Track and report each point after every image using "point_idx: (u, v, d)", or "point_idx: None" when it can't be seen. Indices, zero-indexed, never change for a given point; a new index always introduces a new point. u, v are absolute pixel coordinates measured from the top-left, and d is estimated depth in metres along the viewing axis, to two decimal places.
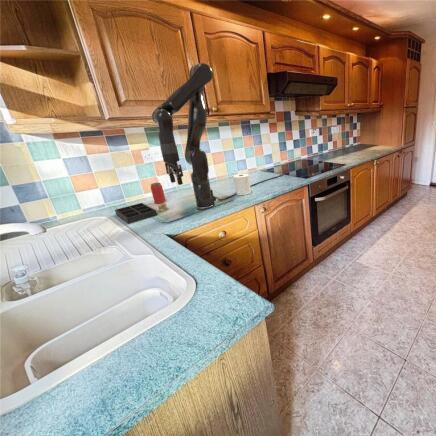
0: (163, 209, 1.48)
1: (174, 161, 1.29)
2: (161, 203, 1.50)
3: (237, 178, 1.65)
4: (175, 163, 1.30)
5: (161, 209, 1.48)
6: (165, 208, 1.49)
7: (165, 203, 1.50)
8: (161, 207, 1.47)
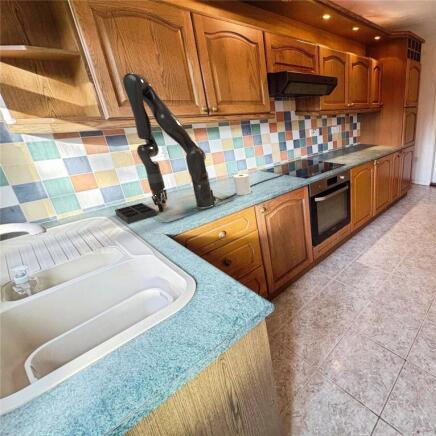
0: (163, 209, 1.48)
1: (154, 190, 1.42)
2: None
3: (237, 178, 1.65)
4: (155, 192, 1.42)
5: None
6: (165, 208, 1.49)
7: (165, 203, 1.50)
8: None
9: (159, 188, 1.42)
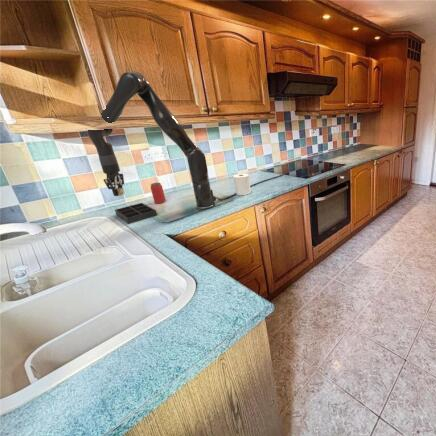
0: None
1: (107, 173, 1.34)
2: (117, 188, 1.43)
3: (237, 178, 1.65)
4: (108, 175, 1.34)
5: None
6: (121, 193, 1.41)
7: (121, 188, 1.42)
8: None
9: (112, 171, 1.35)
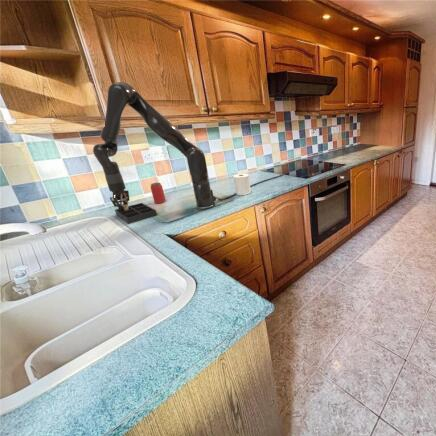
0: (124, 210, 1.44)
1: (113, 191, 1.38)
2: None
3: (237, 178, 1.65)
4: (114, 193, 1.38)
5: None
6: (126, 209, 1.45)
7: (126, 204, 1.46)
8: None
9: (118, 189, 1.38)
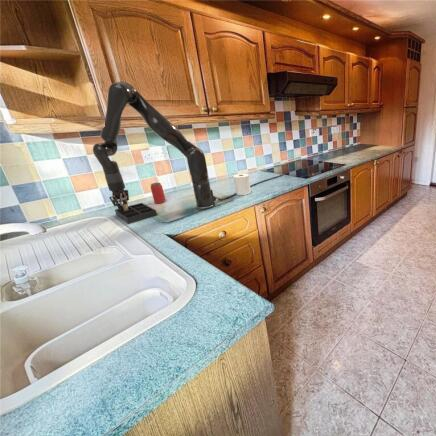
0: (124, 210, 1.44)
1: (112, 190, 1.38)
2: (122, 204, 1.46)
3: (237, 178, 1.65)
4: (113, 192, 1.38)
5: None
6: (126, 209, 1.45)
7: (126, 204, 1.46)
8: None
9: (118, 188, 1.38)
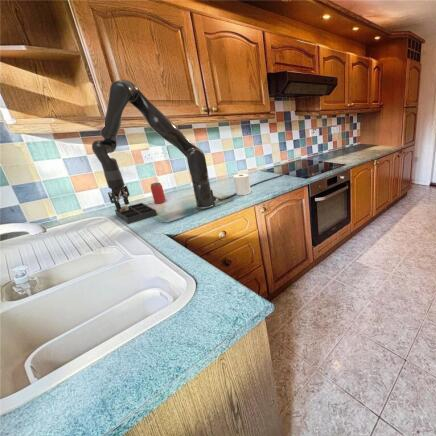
0: None
1: (112, 187, 1.37)
2: (123, 206, 1.47)
3: (237, 178, 1.65)
4: (113, 189, 1.38)
5: None
6: None
7: (127, 206, 1.46)
8: (122, 210, 1.44)
9: (117, 186, 1.38)
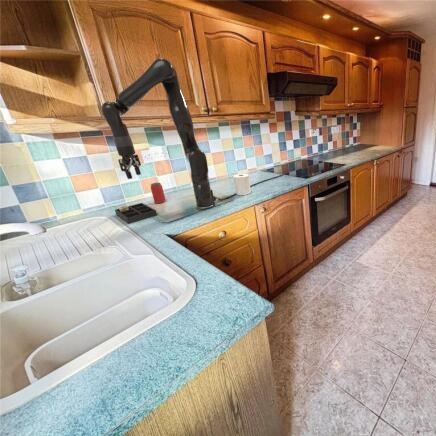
0: None
1: (122, 155, 1.29)
2: (123, 206, 1.47)
3: (237, 178, 1.65)
4: (123, 157, 1.29)
5: None
6: None
7: (127, 206, 1.46)
8: (122, 210, 1.44)
9: (128, 153, 1.29)
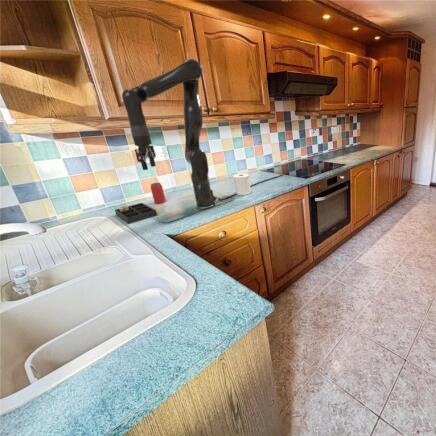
0: None
1: (139, 145, 1.24)
2: (123, 206, 1.47)
3: (237, 178, 1.65)
4: (140, 147, 1.25)
5: None
6: None
7: (127, 206, 1.46)
8: (122, 210, 1.44)
9: (144, 143, 1.25)
